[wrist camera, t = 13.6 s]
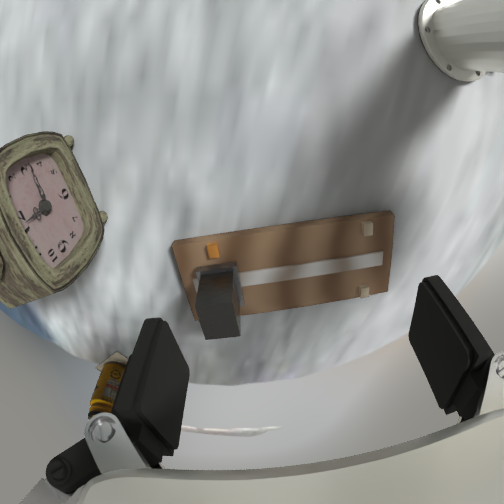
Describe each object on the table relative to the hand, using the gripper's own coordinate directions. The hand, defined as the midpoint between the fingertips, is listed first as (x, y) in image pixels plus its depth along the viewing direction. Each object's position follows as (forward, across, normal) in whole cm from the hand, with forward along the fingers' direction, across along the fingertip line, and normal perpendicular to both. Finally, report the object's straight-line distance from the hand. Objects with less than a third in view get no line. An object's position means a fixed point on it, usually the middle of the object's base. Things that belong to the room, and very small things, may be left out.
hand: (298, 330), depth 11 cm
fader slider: (+24, +8, +14) cm, 29 cm away
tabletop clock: (+26, +24, -2) cm, 36 cm away
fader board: (+26, -1, +14) cm, 30 cm away
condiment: (+25, +31, +32) cm, 51 cm away
